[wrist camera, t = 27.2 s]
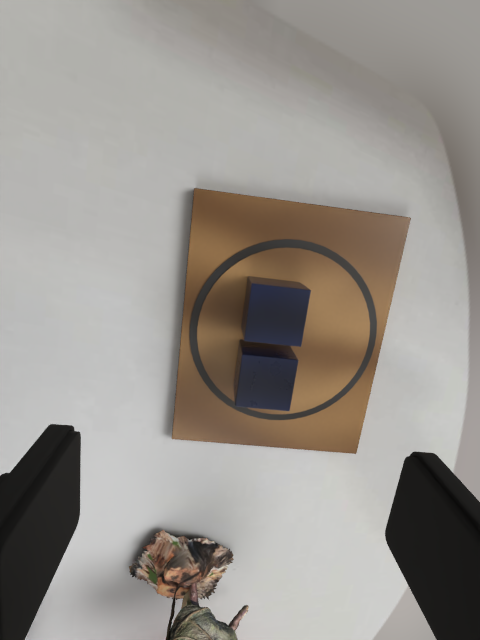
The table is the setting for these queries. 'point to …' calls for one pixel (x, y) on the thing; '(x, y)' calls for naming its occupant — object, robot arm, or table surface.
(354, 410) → the board
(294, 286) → the dark blue cube
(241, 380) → the dark blue block
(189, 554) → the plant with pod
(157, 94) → the table surface
